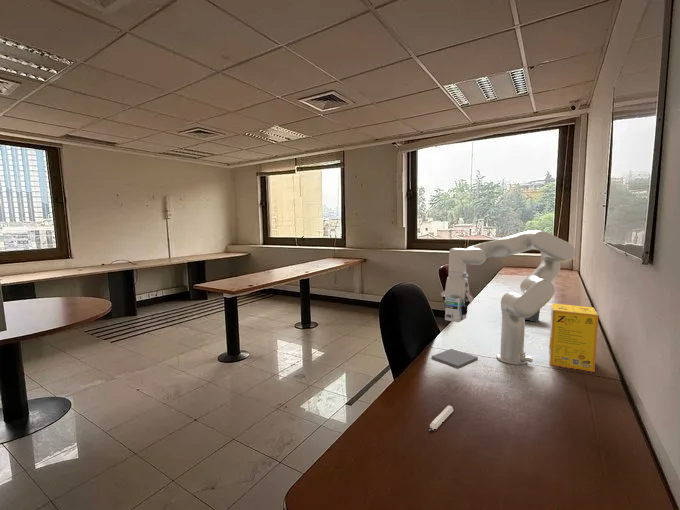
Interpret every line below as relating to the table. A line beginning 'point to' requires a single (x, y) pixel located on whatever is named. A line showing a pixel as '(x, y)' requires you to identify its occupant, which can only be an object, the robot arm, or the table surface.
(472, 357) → the mat
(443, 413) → the marker
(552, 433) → the table surface
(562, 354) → the packaging box
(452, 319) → the light bulb box
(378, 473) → the table surface
